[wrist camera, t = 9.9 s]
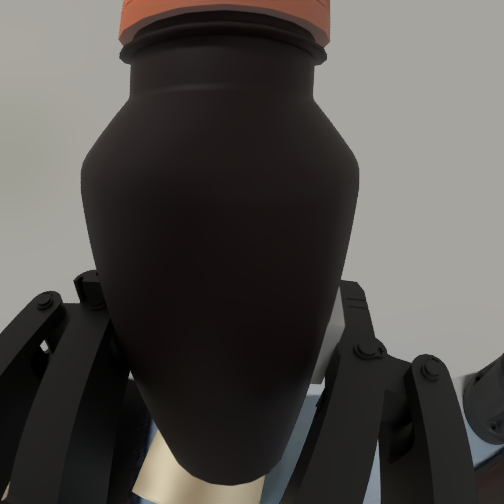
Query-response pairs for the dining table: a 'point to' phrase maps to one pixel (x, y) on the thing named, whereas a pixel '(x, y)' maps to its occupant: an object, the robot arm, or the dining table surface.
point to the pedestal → (186, 482)
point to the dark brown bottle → (221, 223)
